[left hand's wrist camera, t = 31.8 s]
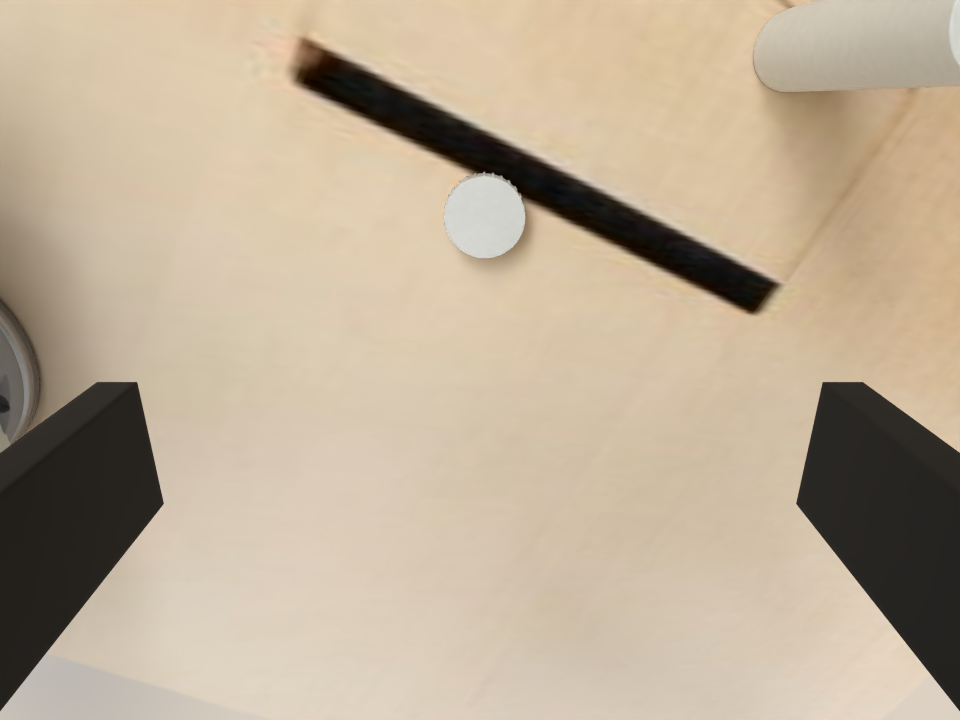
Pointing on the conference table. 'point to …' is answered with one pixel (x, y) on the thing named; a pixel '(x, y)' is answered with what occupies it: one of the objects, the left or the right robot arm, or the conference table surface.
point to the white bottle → (861, 45)
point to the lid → (484, 215)
